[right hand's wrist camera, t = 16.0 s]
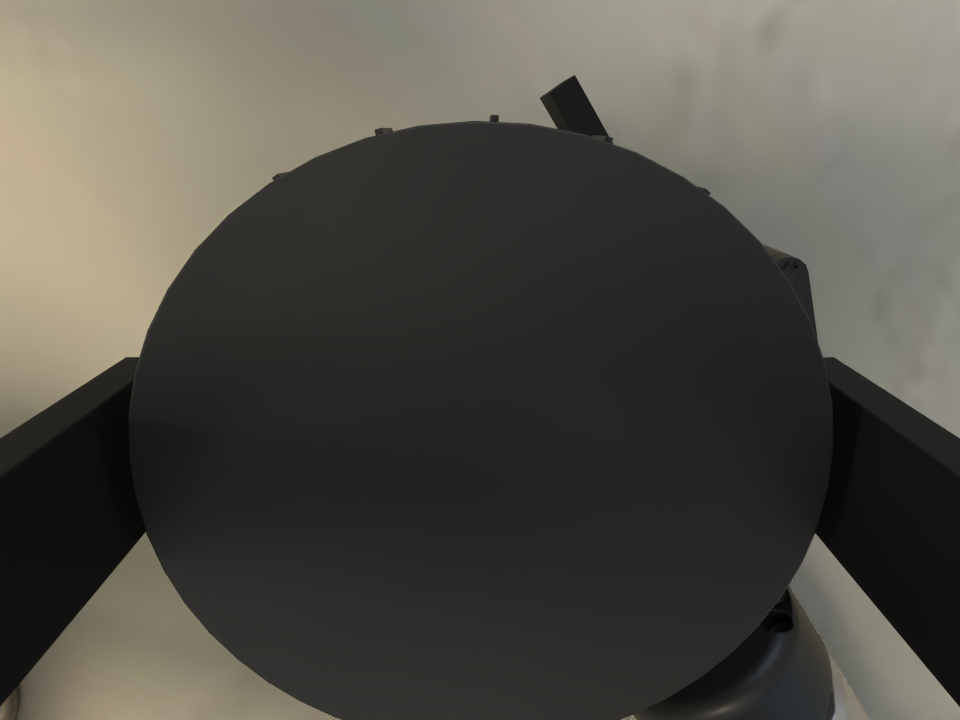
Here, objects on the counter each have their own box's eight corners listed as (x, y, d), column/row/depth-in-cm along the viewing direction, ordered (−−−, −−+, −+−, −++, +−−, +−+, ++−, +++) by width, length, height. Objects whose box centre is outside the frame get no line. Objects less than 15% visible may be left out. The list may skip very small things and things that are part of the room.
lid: (396, 750, 14) (386, 824, 13) (35, 343, 11) (-35, 378, 9) (876, 536, 12) (931, 593, 11) (615, -40, 9) (642, -74, 7)
